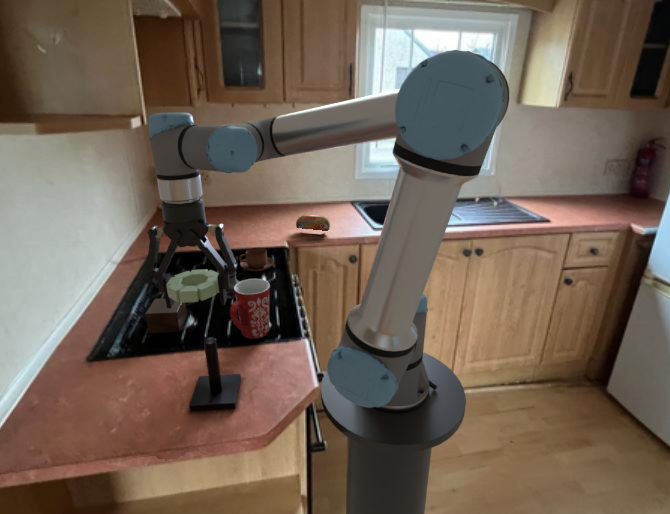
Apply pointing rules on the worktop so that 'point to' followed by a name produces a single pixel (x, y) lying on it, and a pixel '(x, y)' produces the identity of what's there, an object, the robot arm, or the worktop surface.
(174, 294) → the ring disc
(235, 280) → the grey chess piece
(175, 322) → the riser
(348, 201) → the worktop surface
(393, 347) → the robot arm
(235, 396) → the stand
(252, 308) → the mug
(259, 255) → the cup and saucer
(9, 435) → the worktop surface
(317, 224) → the tin
